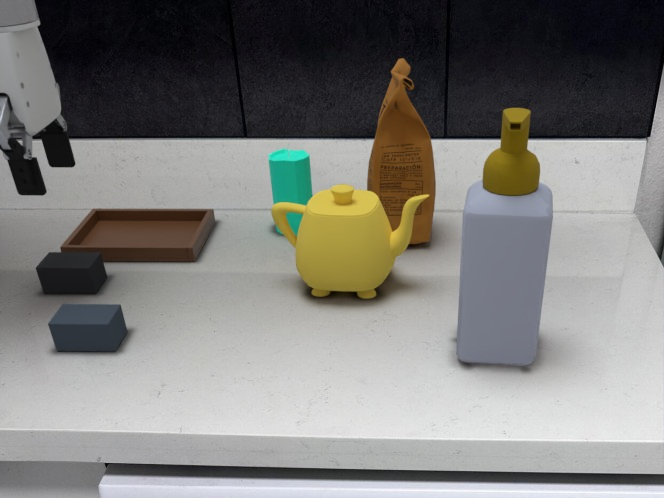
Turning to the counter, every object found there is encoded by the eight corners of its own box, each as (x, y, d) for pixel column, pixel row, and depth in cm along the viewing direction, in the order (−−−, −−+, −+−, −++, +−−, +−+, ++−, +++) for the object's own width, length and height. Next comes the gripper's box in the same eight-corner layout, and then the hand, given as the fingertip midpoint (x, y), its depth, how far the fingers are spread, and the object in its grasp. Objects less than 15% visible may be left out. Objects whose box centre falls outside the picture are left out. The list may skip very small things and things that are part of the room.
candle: (310, 237, 117) (303, 150, 109) (271, 234, 117) (261, 148, 109) (319, 221, 121) (313, 137, 113) (281, 219, 122) (273, 136, 114)
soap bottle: (454, 365, 89) (466, 123, 72) (461, 327, 96) (472, 97, 79) (534, 370, 88) (564, 126, 71) (535, 331, 95) (563, 100, 78)
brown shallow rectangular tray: (63, 261, 111) (59, 247, 110) (96, 221, 122) (92, 208, 120) (195, 261, 110) (192, 247, 109) (215, 222, 121) (213, 209, 120)
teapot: (423, 309, 99) (425, 209, 91) (268, 303, 101) (255, 204, 92) (431, 265, 109) (433, 171, 101) (289, 259, 111) (280, 167, 102)
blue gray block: (56, 351, 92) (47, 323, 90) (70, 330, 96) (62, 303, 93) (115, 351, 92) (108, 324, 90) (127, 331, 96) (120, 304, 93)
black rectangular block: (43, 293, 103) (35, 267, 101) (56, 277, 107) (48, 251, 105) (96, 293, 103) (89, 268, 101) (107, 277, 107) (101, 252, 105)
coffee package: (433, 218, 122) (437, 55, 107) (434, 250, 113) (439, 77, 98) (369, 218, 122) (364, 55, 107) (365, 250, 113) (359, 77, 98)
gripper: (-3, -4, 89) (44, 157, 101) (-77, 26, 76) (-13, 206, 88) (62, -4, 89) (102, 157, 100) (-1, 26, 76) (53, 206, 88)
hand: (48, 180), depth 94 cm, fingers open, 9 cm apart
